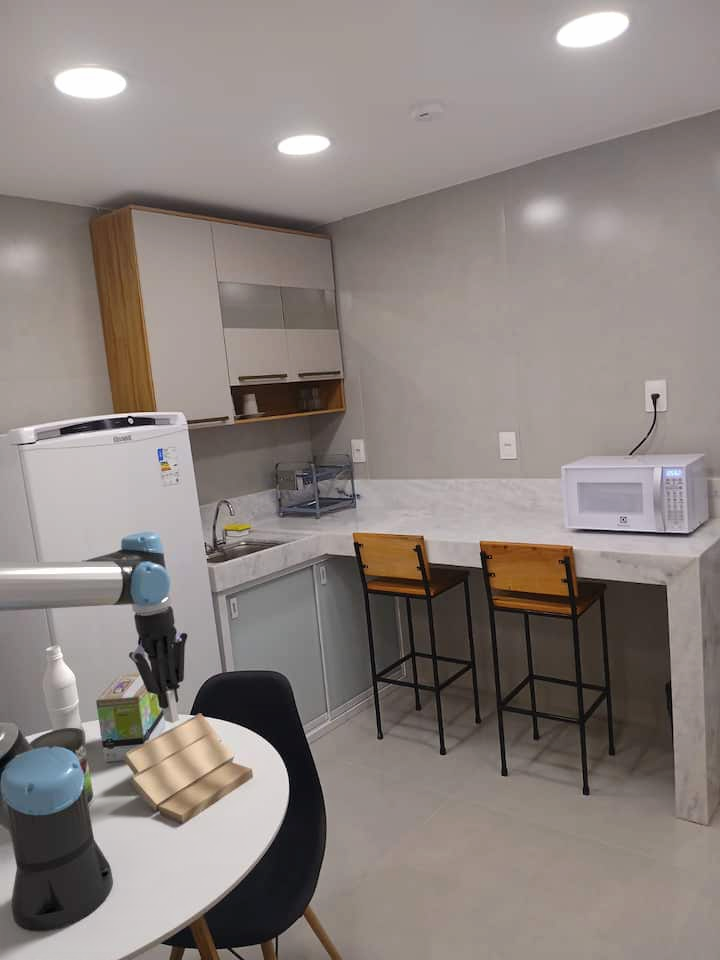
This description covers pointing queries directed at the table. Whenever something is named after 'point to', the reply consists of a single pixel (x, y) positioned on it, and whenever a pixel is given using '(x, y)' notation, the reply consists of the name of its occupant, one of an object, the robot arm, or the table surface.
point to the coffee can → (72, 742)
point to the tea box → (128, 716)
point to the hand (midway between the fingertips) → (171, 720)
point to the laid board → (205, 792)
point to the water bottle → (61, 692)
